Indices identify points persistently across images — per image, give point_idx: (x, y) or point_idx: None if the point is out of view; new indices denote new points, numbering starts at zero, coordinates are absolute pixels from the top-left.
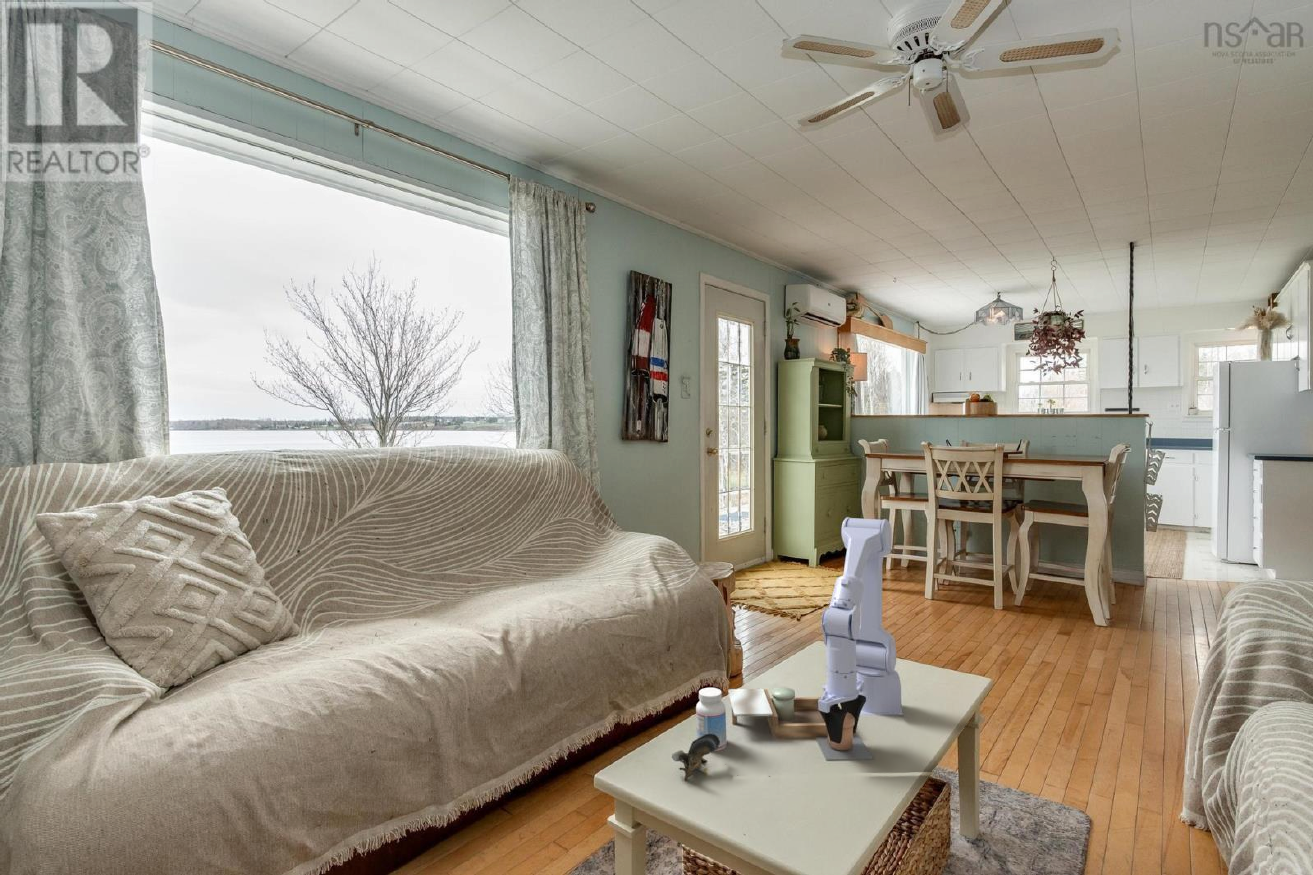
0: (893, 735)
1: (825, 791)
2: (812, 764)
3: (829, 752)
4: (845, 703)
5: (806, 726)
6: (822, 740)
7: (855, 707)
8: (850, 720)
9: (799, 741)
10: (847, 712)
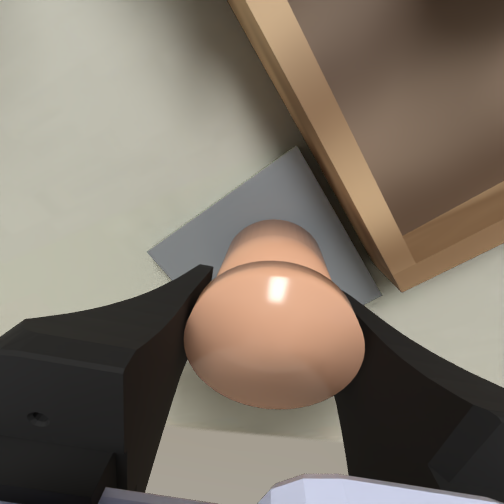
0: (454, 361)
1: (12, 294)
2: (115, 207)
3: (200, 245)
4: (393, 415)
5: (291, 91)
6: (281, 187)
7: (357, 463)
8: (265, 396)
9: (256, 77)
10: (357, 371)
